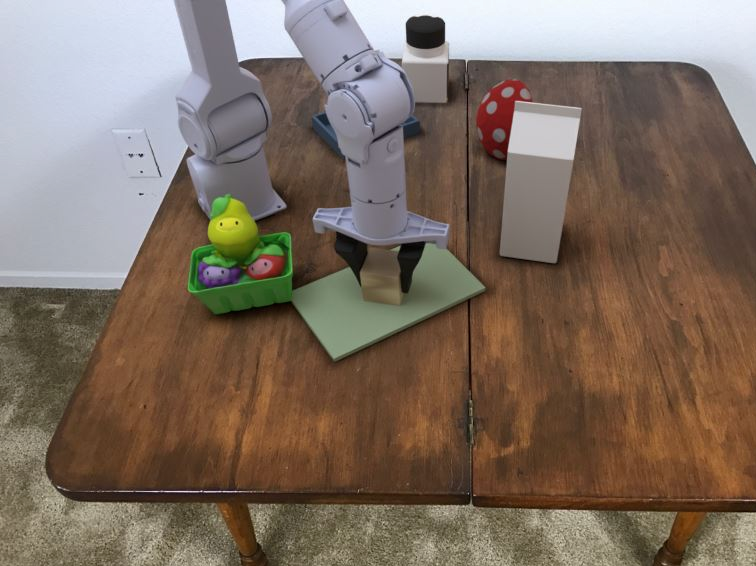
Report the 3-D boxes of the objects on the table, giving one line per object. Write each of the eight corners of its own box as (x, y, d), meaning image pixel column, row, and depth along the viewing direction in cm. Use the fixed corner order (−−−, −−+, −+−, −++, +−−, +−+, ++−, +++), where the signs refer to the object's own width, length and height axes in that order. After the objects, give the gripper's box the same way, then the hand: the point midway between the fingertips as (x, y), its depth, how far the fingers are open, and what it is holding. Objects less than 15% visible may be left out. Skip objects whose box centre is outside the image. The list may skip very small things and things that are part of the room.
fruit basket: (202, 325, 76) (164, 249, 68) (206, 272, 82) (172, 197, 74) (303, 307, 77) (278, 230, 69) (300, 257, 83) (277, 180, 75)
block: (363, 300, 78) (359, 272, 75) (373, 275, 81) (370, 247, 78) (400, 306, 78) (398, 278, 74) (408, 280, 81) (407, 252, 77)
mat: (334, 362, 73) (333, 358, 72) (287, 296, 79) (286, 292, 79) (485, 291, 80) (485, 287, 80) (430, 236, 87) (430, 232, 86)
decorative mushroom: (587, 78, 97) (498, 56, 90) (595, 150, 95) (505, 134, 88) (542, 115, 107) (458, 98, 100) (549, 181, 105) (464, 168, 98)
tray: (343, 161, 98) (342, 146, 96) (313, 130, 103) (311, 115, 102) (420, 134, 103) (419, 120, 101) (387, 106, 108) (386, 92, 106)
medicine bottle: (447, 104, 109) (448, 29, 100) (403, 104, 109) (400, 28, 100) (448, 82, 113) (449, 9, 104) (406, 82, 113) (403, 8, 105)
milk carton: (556, 264, 83) (579, 126, 69) (499, 256, 84) (510, 118, 70) (561, 228, 88) (584, 92, 74) (507, 221, 89) (519, 85, 75)
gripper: (455, 172, 70) (453, 269, 80) (321, 156, 72) (336, 253, 82) (442, 214, 66) (442, 311, 76) (299, 196, 67) (318, 293, 78)
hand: (386, 284), depth 79 cm, fingers closed on block, 4 cm apart
